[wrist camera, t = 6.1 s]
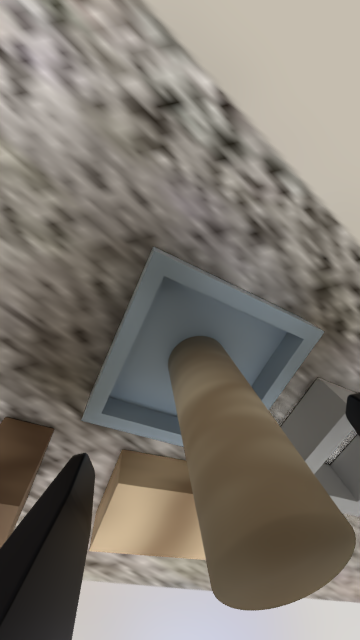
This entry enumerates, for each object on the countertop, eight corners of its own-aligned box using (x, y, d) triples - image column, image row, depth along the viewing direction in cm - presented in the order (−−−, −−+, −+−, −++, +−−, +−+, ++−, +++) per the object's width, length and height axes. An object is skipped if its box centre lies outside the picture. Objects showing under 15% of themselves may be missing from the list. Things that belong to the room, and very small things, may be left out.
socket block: (396, 409, 16) (437, 440, 14) (332, 479, 18) (358, 516, 16) (318, 377, 14) (350, 406, 12) (256, 459, 16) (273, 498, 14)
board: (259, 468, 17) (276, 506, 15) (224, 521, 19) (234, 561, 17) (122, 443, 15) (118, 483, 13) (97, 506, 17) (89, 551, 15)
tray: (301, 317, 13) (324, 331, 11) (223, 433, 15) (233, 459, 14) (153, 246, 11) (154, 250, 9) (89, 395, 13) (81, 420, 11)
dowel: (223, 330, 12) (362, 494, 4) (229, 381, 13) (349, 584, 5) (162, 343, 12) (200, 540, 4) (173, 394, 13) (220, 626, 5)
